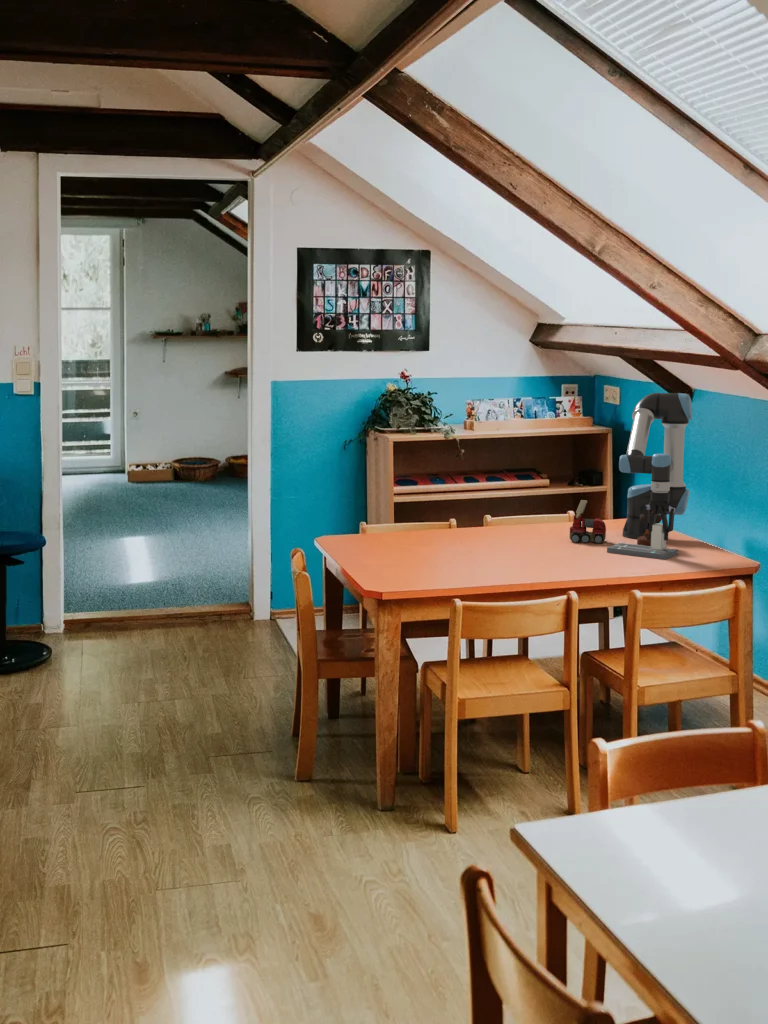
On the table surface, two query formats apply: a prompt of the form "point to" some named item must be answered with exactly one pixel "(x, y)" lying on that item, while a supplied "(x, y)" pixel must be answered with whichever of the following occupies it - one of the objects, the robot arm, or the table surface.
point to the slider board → (641, 551)
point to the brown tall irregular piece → (645, 539)
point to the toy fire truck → (580, 532)
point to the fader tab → (657, 537)
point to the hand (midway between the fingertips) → (658, 547)
